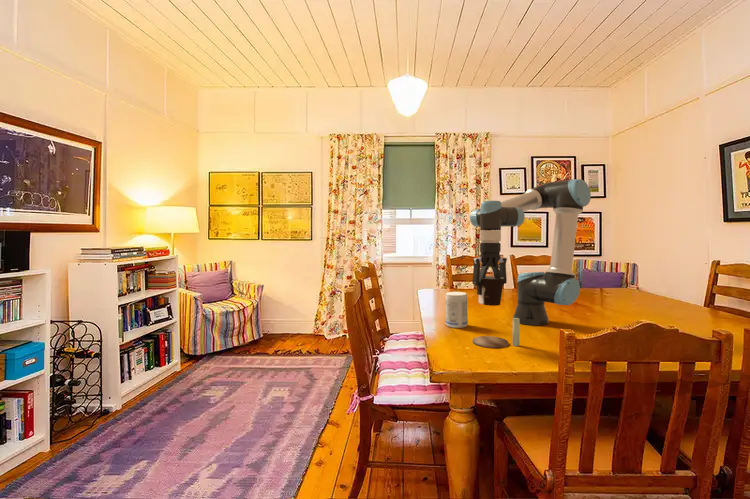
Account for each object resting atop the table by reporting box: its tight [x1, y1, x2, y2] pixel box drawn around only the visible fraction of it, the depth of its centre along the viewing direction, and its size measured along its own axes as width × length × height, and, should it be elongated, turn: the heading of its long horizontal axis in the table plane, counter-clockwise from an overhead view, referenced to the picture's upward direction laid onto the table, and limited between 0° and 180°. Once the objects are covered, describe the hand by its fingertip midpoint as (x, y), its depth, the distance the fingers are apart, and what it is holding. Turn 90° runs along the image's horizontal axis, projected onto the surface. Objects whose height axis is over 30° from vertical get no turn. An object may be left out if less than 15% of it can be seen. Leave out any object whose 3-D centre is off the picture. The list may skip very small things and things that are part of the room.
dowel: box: [512, 317, 521, 347], centre depth 143 cm, size 2×2×10 cm
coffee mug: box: [481, 275, 504, 307], centre depth 146 cm, size 12×9×10 cm
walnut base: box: [472, 335, 509, 349], centre depth 146 cm, size 13×13×1 cm
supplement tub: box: [445, 291, 469, 329], centre depth 172 cm, size 10×10×15 cm
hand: (489, 302), depth 146 cm, fingers closed on coffee mug, 6 cm apart
